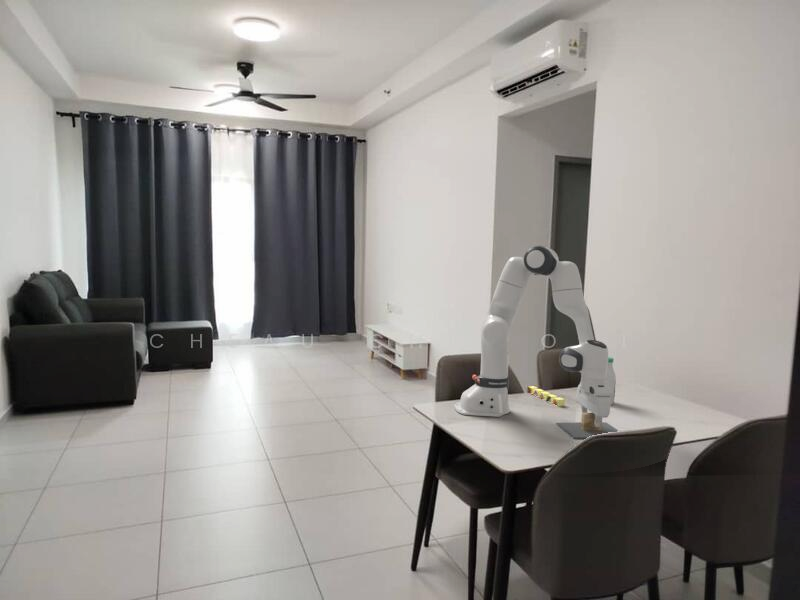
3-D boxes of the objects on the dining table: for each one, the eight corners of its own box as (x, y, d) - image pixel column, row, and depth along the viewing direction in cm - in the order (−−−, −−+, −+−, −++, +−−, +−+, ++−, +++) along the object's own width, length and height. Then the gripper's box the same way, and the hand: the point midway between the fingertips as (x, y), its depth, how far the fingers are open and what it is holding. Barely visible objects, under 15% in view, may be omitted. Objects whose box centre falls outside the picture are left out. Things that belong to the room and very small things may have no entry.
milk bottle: (612, 405, 236) (615, 360, 234) (593, 402, 240) (596, 357, 238) (615, 401, 243) (618, 357, 241) (597, 398, 247) (600, 355, 245)
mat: (574, 438, 193) (574, 437, 193) (556, 424, 209) (556, 422, 209) (627, 438, 195) (627, 436, 195) (606, 423, 211) (606, 422, 211)
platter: (550, 389, 263) (550, 382, 263) (596, 408, 233) (596, 400, 233) (492, 393, 252) (492, 386, 251) (532, 414, 222) (532, 406, 221)
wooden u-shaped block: (583, 430, 201) (584, 414, 200) (580, 428, 203) (581, 412, 202) (601, 430, 201) (602, 414, 201) (598, 428, 204) (599, 412, 203)
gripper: (573, 378, 210) (570, 413, 212) (597, 392, 190) (594, 431, 191) (589, 378, 211) (586, 413, 212) (615, 392, 191) (611, 431, 192)
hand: (590, 421), depth 202 cm, fingers open, 8 cm apart
